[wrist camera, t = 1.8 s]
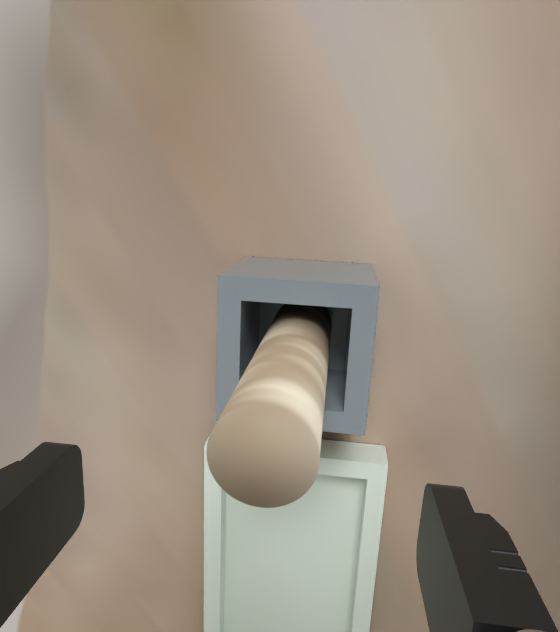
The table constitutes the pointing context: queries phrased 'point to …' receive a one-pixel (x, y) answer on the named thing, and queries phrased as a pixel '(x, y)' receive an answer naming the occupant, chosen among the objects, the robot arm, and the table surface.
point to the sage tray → (297, 550)
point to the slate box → (302, 289)
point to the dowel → (276, 413)
